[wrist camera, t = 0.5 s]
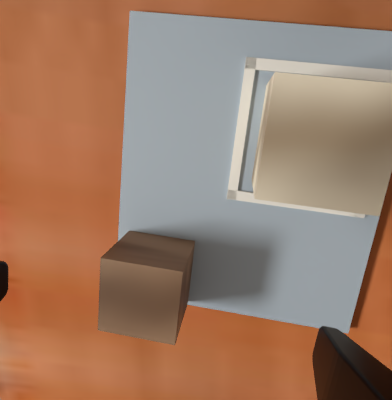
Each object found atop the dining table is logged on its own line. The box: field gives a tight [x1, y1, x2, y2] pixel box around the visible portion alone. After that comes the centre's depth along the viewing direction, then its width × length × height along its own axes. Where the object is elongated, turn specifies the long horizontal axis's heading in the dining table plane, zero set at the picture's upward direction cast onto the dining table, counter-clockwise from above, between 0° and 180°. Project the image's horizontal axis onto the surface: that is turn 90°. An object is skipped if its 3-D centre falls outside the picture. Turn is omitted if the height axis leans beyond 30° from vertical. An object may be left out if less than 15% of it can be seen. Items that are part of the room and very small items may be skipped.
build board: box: [118, 11, 392, 333], centre depth 20 cm, size 18×16×1 cm
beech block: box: [252, 72, 392, 216], centre depth 16 cm, size 6×6×5 cm
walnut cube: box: [98, 231, 195, 345], centre depth 20 cm, size 4×4×4 cm
